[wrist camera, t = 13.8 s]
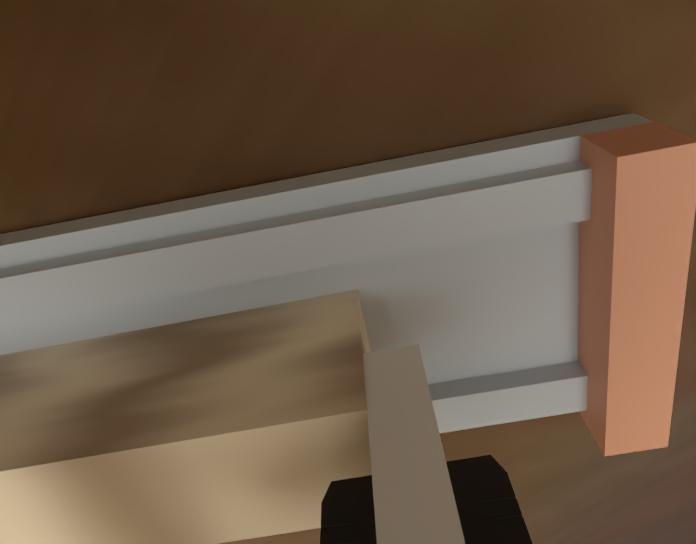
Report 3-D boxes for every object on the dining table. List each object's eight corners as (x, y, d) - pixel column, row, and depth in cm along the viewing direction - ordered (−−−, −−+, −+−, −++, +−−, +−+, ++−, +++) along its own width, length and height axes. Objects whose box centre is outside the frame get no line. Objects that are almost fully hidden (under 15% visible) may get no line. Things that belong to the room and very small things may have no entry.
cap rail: (-27, 482, 22) (-85, 560, 19) (-182, 268, 18) (-290, 326, 14) (618, 379, 20) (667, 446, 17) (632, 112, 16) (703, 141, 13)
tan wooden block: (357, 289, 17) (366, 410, 12) (377, 378, 19) (392, 516, 14) (0, 355, 18) (-127, 492, 13) (49, 435, 19) (-47, 584, 15)
